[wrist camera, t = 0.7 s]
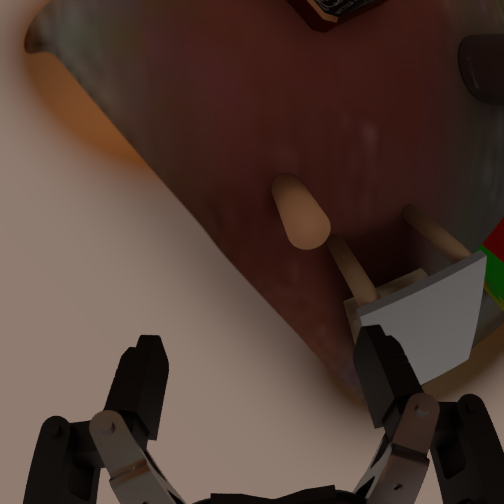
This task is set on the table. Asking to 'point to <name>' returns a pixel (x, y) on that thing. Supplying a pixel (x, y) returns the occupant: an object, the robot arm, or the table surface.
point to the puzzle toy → (495, 264)
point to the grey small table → (423, 301)
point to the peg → (300, 212)
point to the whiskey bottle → (331, 11)
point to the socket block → (383, 291)
